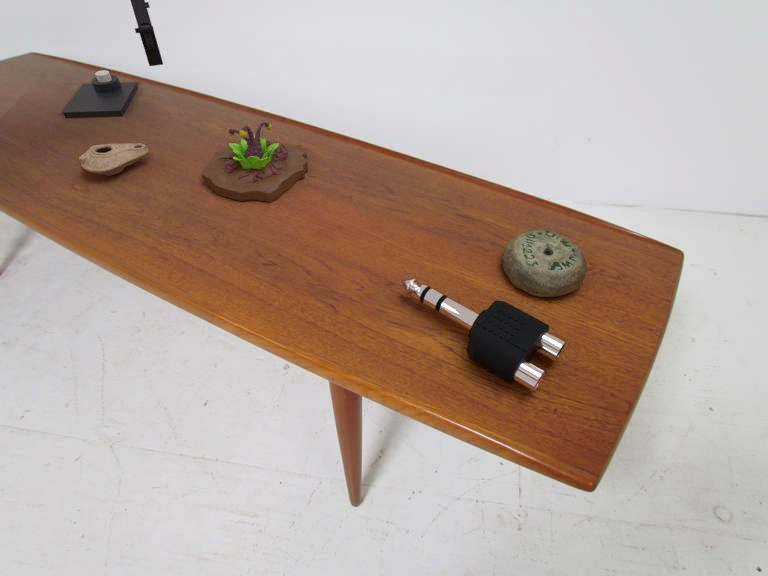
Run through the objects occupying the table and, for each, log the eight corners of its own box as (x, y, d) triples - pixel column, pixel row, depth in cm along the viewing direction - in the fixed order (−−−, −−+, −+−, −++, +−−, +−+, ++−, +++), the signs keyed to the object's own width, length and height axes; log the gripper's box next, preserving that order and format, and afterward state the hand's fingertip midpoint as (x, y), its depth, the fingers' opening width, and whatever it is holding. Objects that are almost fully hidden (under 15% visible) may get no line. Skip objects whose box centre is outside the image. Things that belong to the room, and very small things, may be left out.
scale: (65, 118, 118) (58, 104, 115) (87, 88, 129) (81, 75, 127) (122, 116, 119) (117, 102, 117) (138, 87, 131) (134, 73, 128)
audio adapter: (536, 380, 61) (379, 287, 72) (526, 403, 65) (379, 312, 76) (573, 328, 67) (424, 250, 78) (562, 352, 71) (421, 274, 82)
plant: (187, 190, 98) (171, 138, 90) (236, 143, 111) (226, 94, 103) (280, 210, 94) (271, 157, 86) (320, 158, 107) (315, 108, 99)
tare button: (96, 83, 124) (93, 75, 123) (100, 78, 127) (97, 70, 125) (110, 83, 125) (106, 75, 123) (113, 78, 127) (110, 70, 126)
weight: (570, 312, 77) (580, 290, 73) (488, 282, 81) (493, 259, 78) (590, 261, 85) (600, 239, 82) (515, 236, 90) (521, 214, 86)
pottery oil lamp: (157, 168, 103) (135, 148, 96) (105, 194, 103) (80, 177, 96) (145, 136, 106) (124, 116, 99) (95, 162, 106) (70, 143, 99)
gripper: (145, -54, 85) (178, 72, 100) (134, -80, 101) (164, 32, 116) (97, -51, 83) (139, 77, 98) (94, -78, 99) (130, 35, 114)
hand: (153, 53), depth 107 cm, fingers open, 13 cm apart
